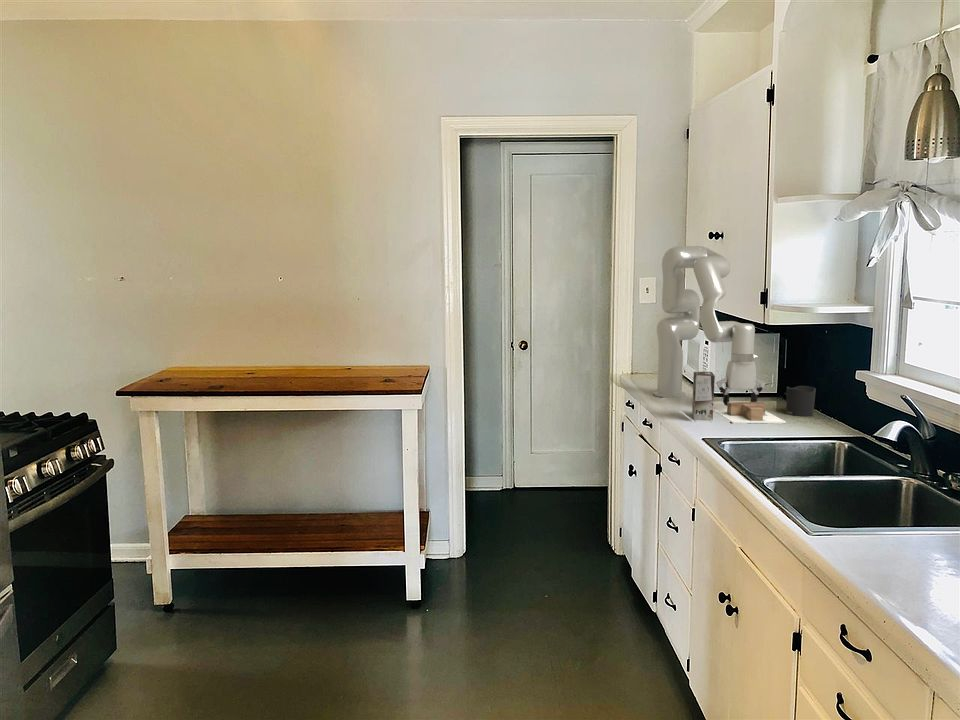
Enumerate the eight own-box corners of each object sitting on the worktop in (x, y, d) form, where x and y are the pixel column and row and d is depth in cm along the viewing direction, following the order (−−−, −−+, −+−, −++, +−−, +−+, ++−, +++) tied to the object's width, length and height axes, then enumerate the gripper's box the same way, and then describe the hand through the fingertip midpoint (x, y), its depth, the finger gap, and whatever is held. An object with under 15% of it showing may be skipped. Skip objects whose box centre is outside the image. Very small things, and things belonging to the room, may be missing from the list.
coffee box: (713, 422, 252) (715, 375, 249) (693, 421, 253) (695, 375, 251) (710, 416, 261) (712, 371, 258) (691, 415, 262) (693, 370, 259)
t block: (727, 413, 263) (727, 402, 263) (760, 413, 263) (761, 401, 263) (739, 420, 251) (739, 409, 251) (774, 420, 251) (775, 409, 251)
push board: (701, 403, 283) (701, 401, 283) (748, 403, 284) (748, 401, 284) (732, 423, 250) (732, 421, 250) (785, 423, 250) (785, 421, 250)
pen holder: (785, 411, 268) (786, 384, 267) (813, 414, 264) (815, 386, 263) (785, 417, 259) (786, 389, 258) (814, 419, 256) (816, 390, 254)
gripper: (762, 356, 269) (759, 402, 271) (714, 356, 269) (712, 403, 271) (770, 359, 261) (767, 407, 264) (721, 359, 261) (719, 407, 264)
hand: (739, 405), depth 267 cm, fingers open, 9 cm apart
